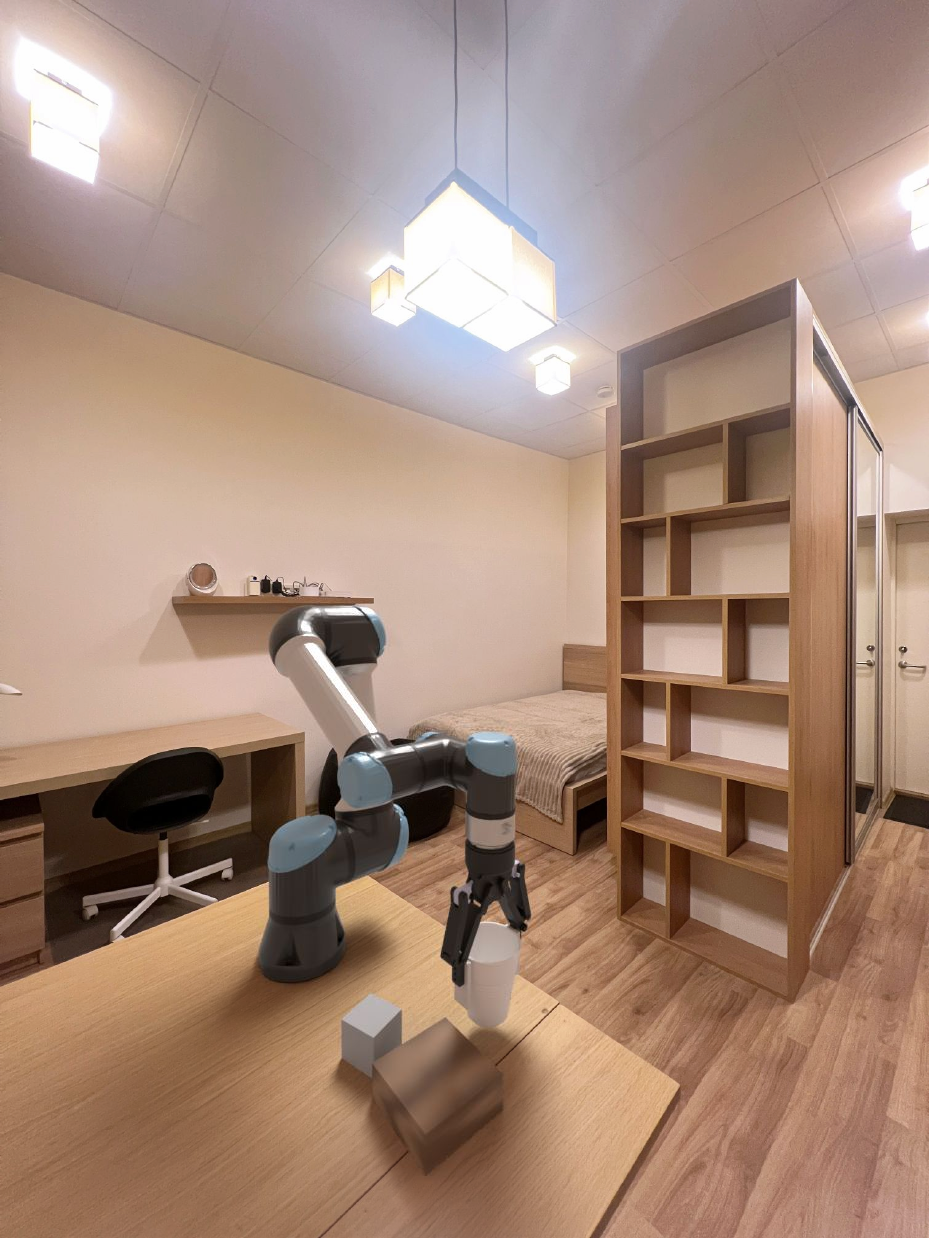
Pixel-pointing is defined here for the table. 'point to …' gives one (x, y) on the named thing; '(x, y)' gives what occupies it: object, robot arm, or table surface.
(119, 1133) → the table surface
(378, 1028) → the grey cube
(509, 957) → the cup
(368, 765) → the robot arm
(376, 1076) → the walnut block
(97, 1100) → the table surface
